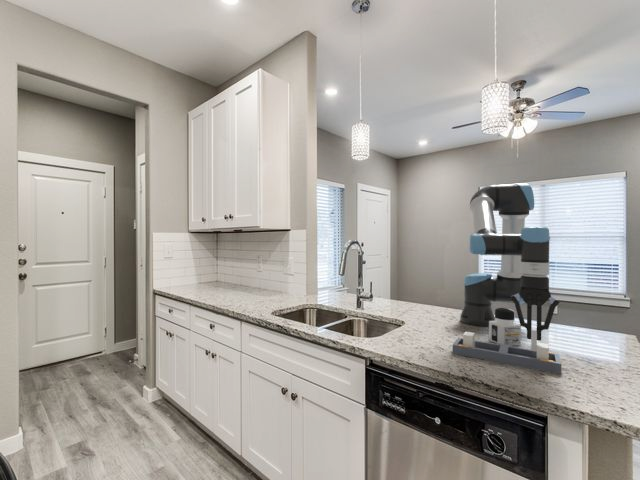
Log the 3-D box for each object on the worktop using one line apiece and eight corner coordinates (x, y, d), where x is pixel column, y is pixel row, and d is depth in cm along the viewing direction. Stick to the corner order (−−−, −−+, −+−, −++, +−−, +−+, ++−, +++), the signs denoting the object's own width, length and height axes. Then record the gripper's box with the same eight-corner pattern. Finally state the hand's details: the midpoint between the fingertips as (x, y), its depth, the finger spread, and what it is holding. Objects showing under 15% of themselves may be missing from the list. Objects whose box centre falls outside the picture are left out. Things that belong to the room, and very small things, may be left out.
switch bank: (458, 345, 119) (458, 336, 119) (558, 363, 102) (559, 353, 102) (452, 353, 110) (452, 344, 110) (561, 374, 94) (561, 363, 94)
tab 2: (536, 357, 103) (536, 342, 103) (547, 359, 101) (548, 344, 101) (536, 362, 99) (536, 346, 99) (548, 364, 97) (548, 348, 97)
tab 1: (465, 345, 115) (465, 331, 115) (474, 347, 113) (474, 332, 113) (463, 349, 111) (463, 334, 111) (472, 351, 109) (472, 336, 109)
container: (504, 346, 118) (504, 311, 118) (488, 340, 125) (488, 307, 125) (521, 345, 120) (521, 310, 120) (504, 338, 127) (504, 306, 127)
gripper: (510, 275, 102) (509, 349, 102) (561, 278, 95) (560, 357, 95) (511, 273, 108) (510, 343, 108) (559, 275, 101) (558, 350, 101)
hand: (533, 349), depth 101 cm, fingers closed
